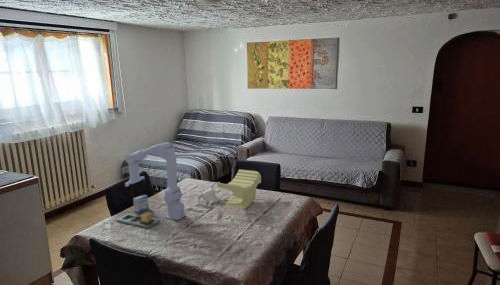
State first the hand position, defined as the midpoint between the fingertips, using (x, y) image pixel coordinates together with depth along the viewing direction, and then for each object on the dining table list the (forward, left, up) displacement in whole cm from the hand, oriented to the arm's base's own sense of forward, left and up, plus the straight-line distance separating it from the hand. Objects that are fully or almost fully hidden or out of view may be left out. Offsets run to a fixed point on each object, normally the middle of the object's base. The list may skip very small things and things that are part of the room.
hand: (136, 193), depth 208 cm
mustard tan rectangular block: (-20, +14, -10) cm, 26 cm away
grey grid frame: (-13, +14, -10) cm, 22 cm away
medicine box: (-3, 0, -10) cm, 11 cm away
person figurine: (-36, -27, -10) cm, 46 cm away
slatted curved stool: (-56, -32, -10) cm, 65 cm away
